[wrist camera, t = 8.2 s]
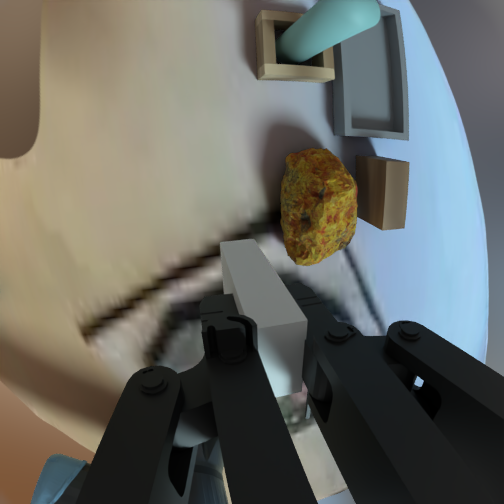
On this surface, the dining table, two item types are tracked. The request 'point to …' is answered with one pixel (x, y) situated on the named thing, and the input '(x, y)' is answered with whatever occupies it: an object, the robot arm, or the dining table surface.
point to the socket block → (267, 55)
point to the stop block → (382, 191)
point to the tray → (372, 81)
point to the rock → (317, 206)
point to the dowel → (325, 28)
